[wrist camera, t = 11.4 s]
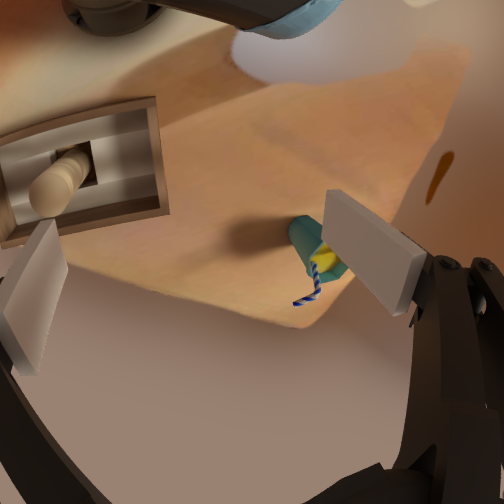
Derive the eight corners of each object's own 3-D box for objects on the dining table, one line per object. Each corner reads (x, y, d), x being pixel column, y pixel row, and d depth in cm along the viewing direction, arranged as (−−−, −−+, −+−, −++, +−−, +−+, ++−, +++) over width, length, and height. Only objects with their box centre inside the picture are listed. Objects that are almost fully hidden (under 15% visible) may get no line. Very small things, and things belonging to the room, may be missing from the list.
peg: (60, 150, 36) (24, 180, 25) (90, 143, 37) (62, 170, 26) (67, 181, 39) (35, 221, 27) (95, 174, 40) (72, 212, 28)
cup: (271, 269, 56) (305, 326, 43) (251, 236, 52) (285, 291, 39) (338, 228, 56) (387, 273, 43) (324, 193, 51) (377, 233, 39)
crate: (-2, 137, 32) (-28, 149, 25) (155, 96, 37) (154, 97, 30) (21, 224, 39) (2, 249, 32) (167, 192, 44) (169, 214, 37)
